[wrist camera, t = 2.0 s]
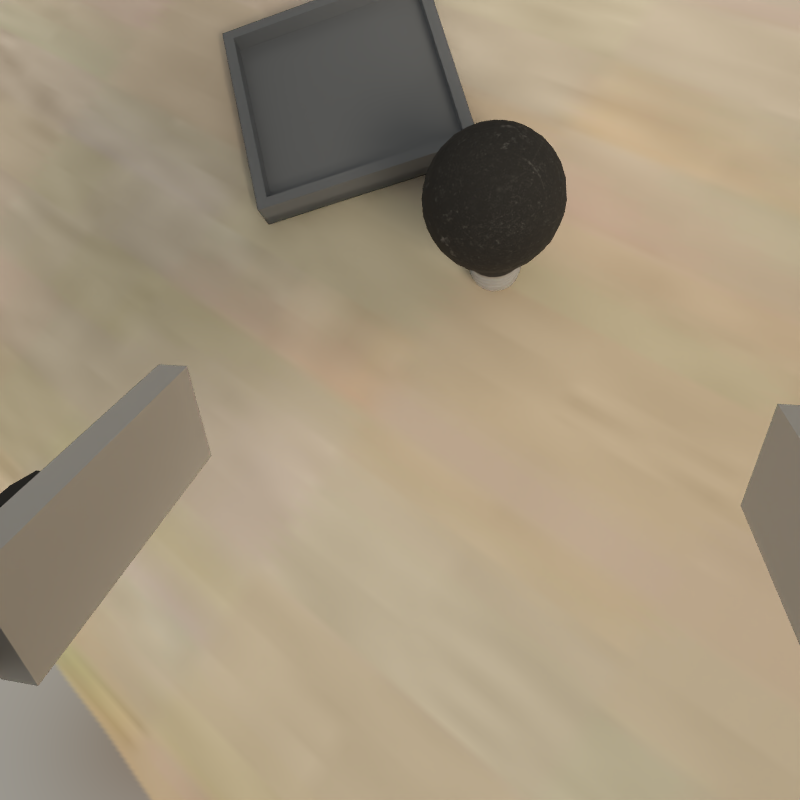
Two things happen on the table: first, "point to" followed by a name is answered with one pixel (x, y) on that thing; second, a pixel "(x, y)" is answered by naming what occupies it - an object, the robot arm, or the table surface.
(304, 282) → the table surface
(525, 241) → the light bulb
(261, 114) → the tray
